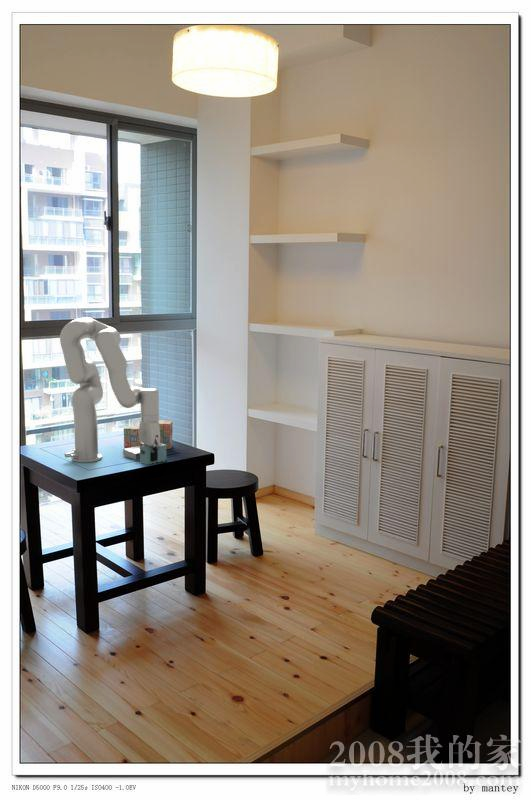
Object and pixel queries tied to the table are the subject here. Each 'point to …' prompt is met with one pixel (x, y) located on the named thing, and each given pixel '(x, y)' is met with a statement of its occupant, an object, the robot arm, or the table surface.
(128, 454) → the wooden bookend
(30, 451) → the table surface
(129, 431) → the stack of blocks
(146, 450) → the teal cabinet
